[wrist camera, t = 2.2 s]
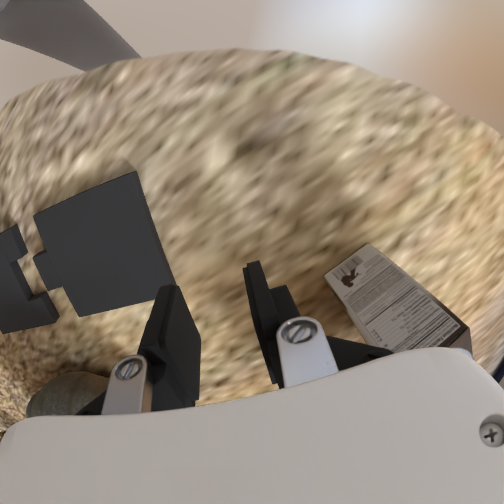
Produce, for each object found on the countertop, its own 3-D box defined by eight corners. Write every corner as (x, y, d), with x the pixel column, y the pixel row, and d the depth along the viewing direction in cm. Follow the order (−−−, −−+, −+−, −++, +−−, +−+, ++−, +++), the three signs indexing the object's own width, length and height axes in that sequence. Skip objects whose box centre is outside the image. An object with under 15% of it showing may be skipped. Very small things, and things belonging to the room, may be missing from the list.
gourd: (79, 451, 36) (63, 520, 19) (24, 341, 30) (-31, 410, 14) (206, 453, 41) (220, 532, 24) (181, 337, 35) (183, 437, 19)
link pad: (26, 219, 23) (18, 223, 22) (136, 170, 23) (131, 172, 22) (69, 313, 28) (64, 321, 26) (177, 286, 28) (175, 294, 27)
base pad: (-30, 252, 23) (-37, 256, 22) (17, 224, 23) (9, 228, 22) (7, 328, 28) (2, 334, 26) (60, 316, 28) (55, 323, 26)
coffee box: (395, 295, 32) (475, 381, 17) (354, 326, 33) (418, 427, 18) (368, 239, 28) (473, 325, 14) (320, 275, 29) (397, 389, 14)
